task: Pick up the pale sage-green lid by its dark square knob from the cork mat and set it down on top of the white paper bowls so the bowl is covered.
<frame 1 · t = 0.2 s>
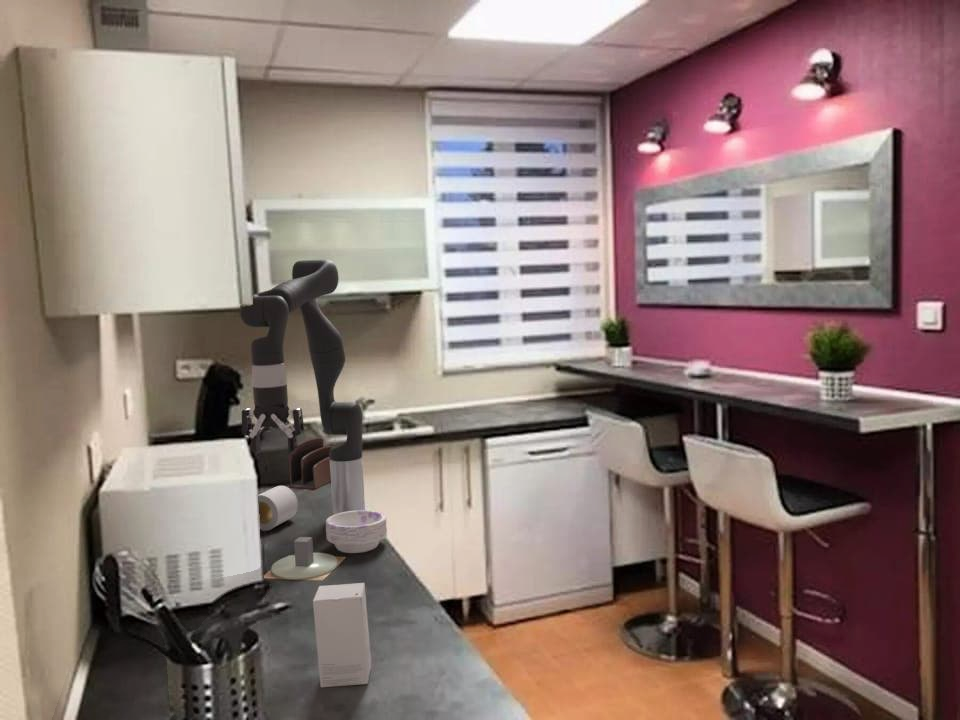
hand: (274, 453, 181), 29 cm above the countertop, tool pointing down, fingers open, 8 cm apart
letter holder: (319, 482, 269), on the countertop
toilet paper: (273, 525, 221), on the countertop
mat: (305, 569, 186), on the countertop
skincare box: (345, 679, 135), on the countertop
lid: (304, 567, 186), resting on mat
paper bowls: (357, 548, 200), on the countertop
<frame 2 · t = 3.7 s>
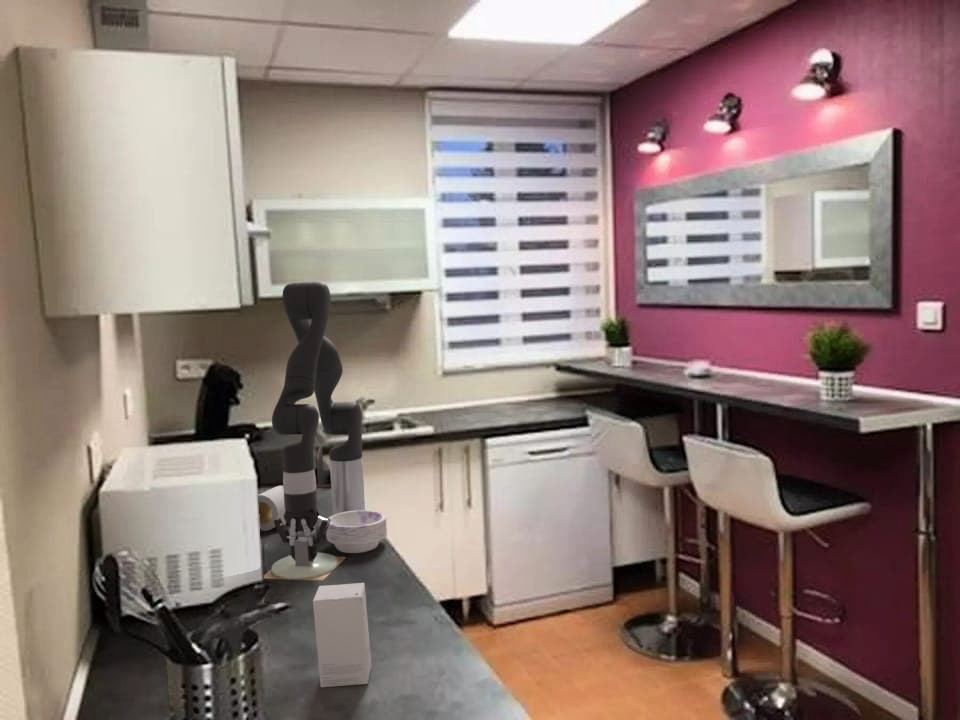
hand: (304, 559, 186), 2 cm above the countertop, tool pointing down, fingers closed on lid, 3 cm apart
lid: (304, 567, 186), point 1 cm above the countertop, touching gripper, mat
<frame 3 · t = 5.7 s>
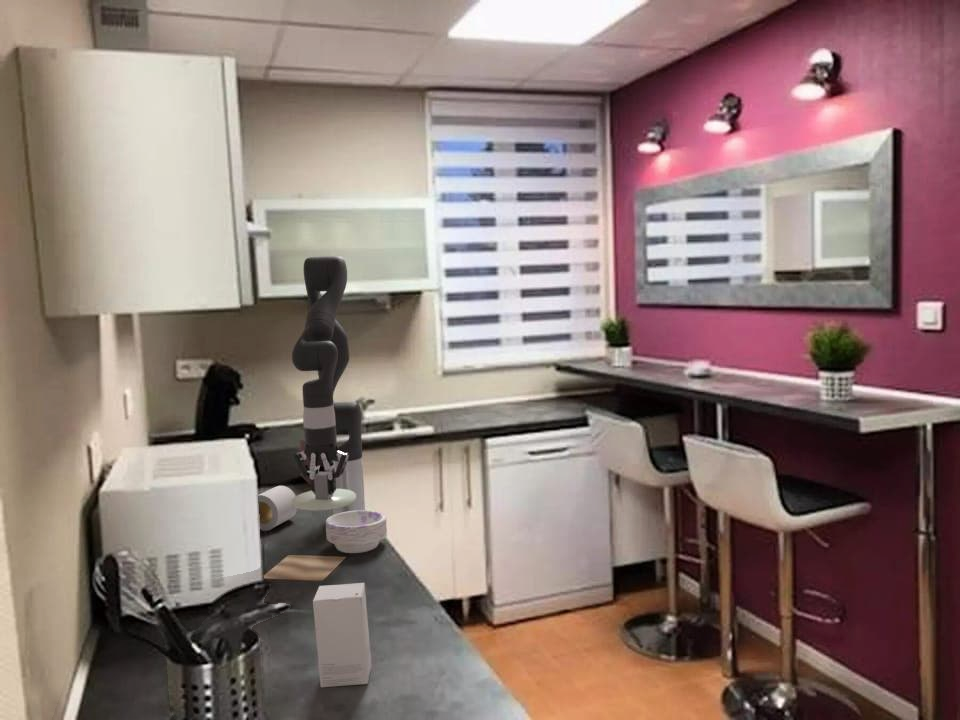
hand: (324, 493, 191), 16 cm above the countertop, tool pointing down, fingers closed on lid, 3 cm apart
lid: (324, 500, 191), point 15 cm above the countertop, touching gripper
when the fingers open (10 cm above the countertop, at t = 7.8 s): lid stays where it is, resting on paper bowls.
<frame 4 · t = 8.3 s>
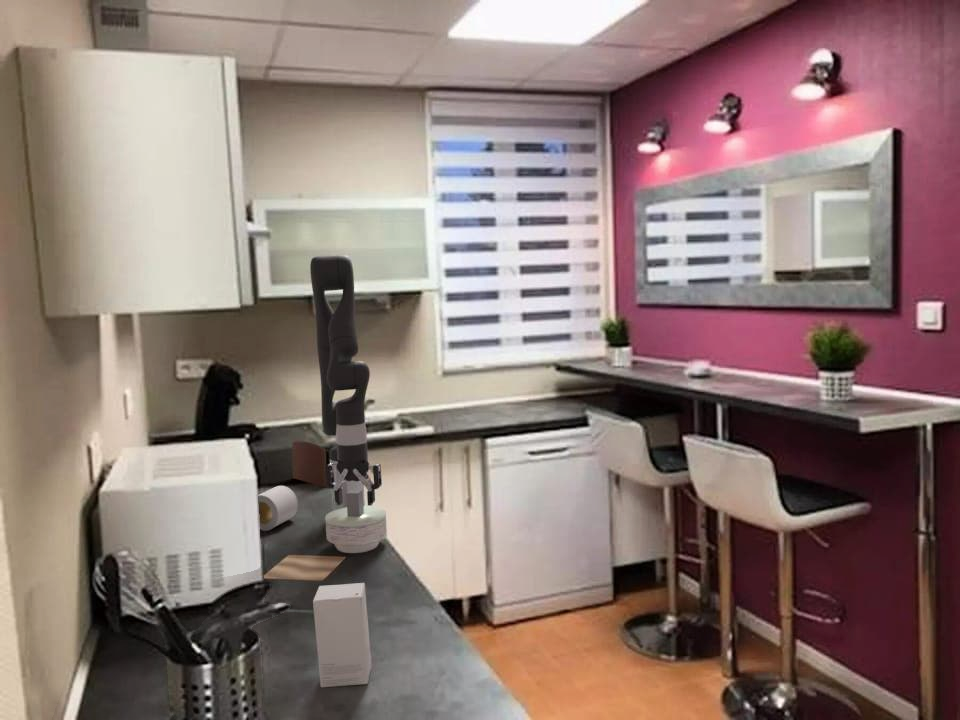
hand: (355, 504, 199), 11 cm above the countertop, tool pointing down, fingers open, 7 cm apart
lid: (355, 517, 199), point 8 cm above the countertop, touching paper bowls
paper bowls: (357, 548, 200), on the countertop, touching lid
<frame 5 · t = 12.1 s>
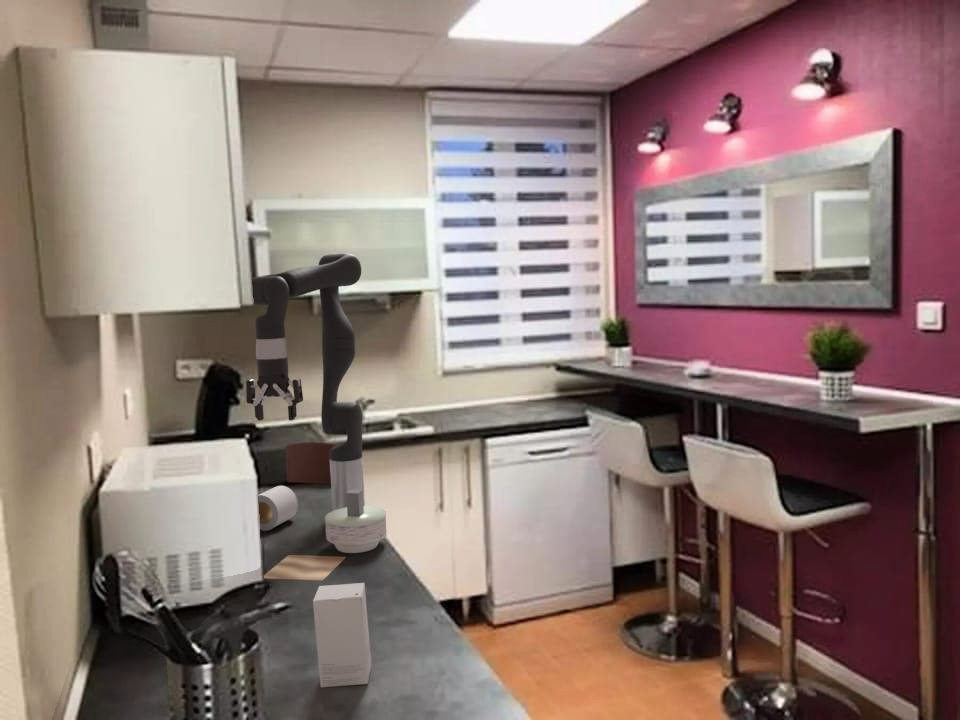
hand: (276, 420, 199), 33 cm above the countertop, tool pointing down, fingers open, 8 cm apart
at the end: lid inside the target area on the paper bowls (0.1 cm from its centre), point 8.1 cm above the paper bowls's base; lid tilted 0°; the gripper is holding nothing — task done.
